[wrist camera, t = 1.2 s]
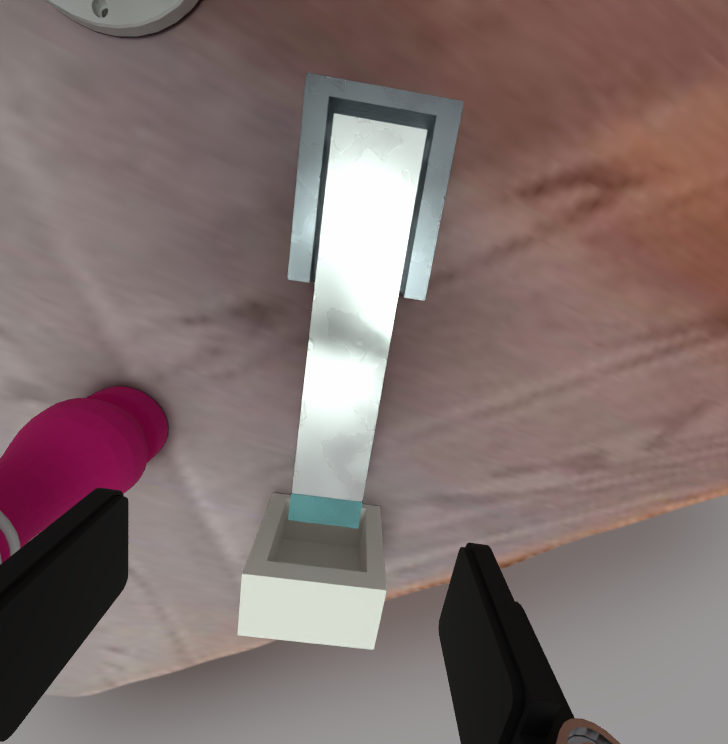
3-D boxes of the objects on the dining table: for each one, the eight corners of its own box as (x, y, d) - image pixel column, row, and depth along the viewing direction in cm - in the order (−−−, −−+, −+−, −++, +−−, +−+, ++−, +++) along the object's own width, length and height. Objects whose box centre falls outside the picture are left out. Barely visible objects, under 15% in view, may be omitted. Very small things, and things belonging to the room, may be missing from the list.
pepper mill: (194, 431, 29) (-142, 773, 10) (131, 481, 30) (-279, 873, 11) (123, 360, 27) (-458, 601, 8) (60, 416, 28) (-577, 743, 9)
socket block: (273, 492, 30) (242, 573, 22) (380, 506, 31) (386, 590, 23) (268, 542, 32) (237, 635, 24) (370, 554, 32) (373, 649, 24)
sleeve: (318, 112, 23) (306, 72, 18) (442, 134, 23) (464, 101, 18) (301, 276, 25) (287, 279, 21) (413, 293, 26) (424, 300, 21)
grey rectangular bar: (339, 145, 22) (332, 112, 17) (414, 158, 22) (428, 129, 18) (300, 476, 29) (287, 520, 24) (358, 483, 29) (358, 528, 24)
